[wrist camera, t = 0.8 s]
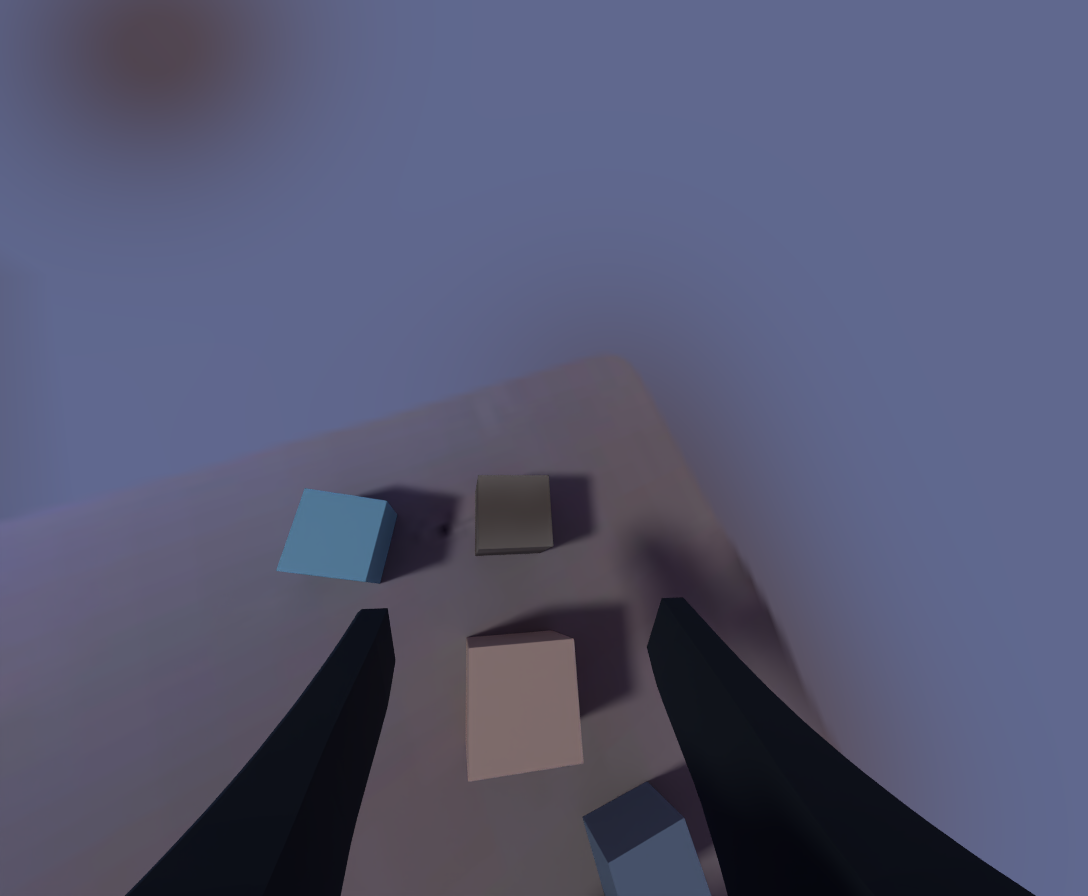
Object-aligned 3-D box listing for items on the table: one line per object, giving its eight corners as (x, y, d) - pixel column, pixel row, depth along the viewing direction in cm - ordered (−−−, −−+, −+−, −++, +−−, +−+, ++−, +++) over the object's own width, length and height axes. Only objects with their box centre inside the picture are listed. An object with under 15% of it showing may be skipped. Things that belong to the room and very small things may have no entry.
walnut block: (539, 553, 25) (553, 546, 22) (475, 556, 24) (478, 549, 21) (535, 491, 27) (548, 475, 23) (475, 492, 26) (478, 475, 22)
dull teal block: (380, 583, 23) (365, 581, 19) (306, 574, 22) (276, 570, 19) (397, 514, 24) (386, 500, 21) (328, 504, 24) (304, 488, 20)
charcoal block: (675, 866, 21) (721, 924, 17) (608, 908, 20) (642, 980, 16) (646, 780, 22) (684, 817, 18) (581, 816, 21) (608, 863, 17)
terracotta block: (557, 728, 22) (583, 763, 18) (465, 740, 21) (468, 781, 16) (551, 630, 24) (573, 638, 19) (466, 637, 23) (468, 648, 18)
